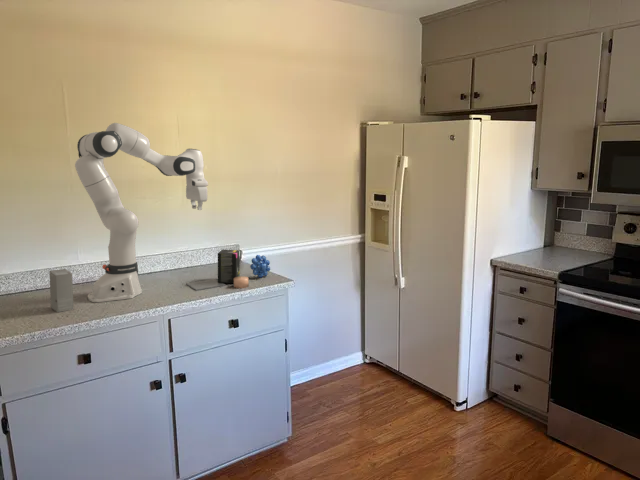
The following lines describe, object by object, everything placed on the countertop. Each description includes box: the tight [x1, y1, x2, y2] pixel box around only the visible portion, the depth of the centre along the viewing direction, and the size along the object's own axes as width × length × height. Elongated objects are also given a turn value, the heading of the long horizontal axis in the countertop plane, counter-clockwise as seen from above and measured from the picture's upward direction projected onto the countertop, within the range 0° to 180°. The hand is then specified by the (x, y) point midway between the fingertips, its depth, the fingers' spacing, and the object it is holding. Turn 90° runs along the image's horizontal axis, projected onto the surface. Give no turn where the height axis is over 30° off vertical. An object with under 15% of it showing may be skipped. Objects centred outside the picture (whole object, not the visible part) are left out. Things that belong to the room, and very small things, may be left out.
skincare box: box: [48, 268, 75, 313], centre depth 197 cm, size 8×7×16 cm
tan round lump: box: [233, 275, 250, 289], centre depth 230 cm, size 7×7×4 cm
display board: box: [186, 278, 226, 291], centre depth 232 cm, size 14×13×1 cm
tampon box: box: [217, 249, 241, 284], centre depth 237 cm, size 11×9×15 cm
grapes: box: [249, 254, 271, 278], centre depth 243 cm, size 12×7×12 cm, turn 130°
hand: (196, 209), depth 245 cm, fingers open, 6 cm apart
